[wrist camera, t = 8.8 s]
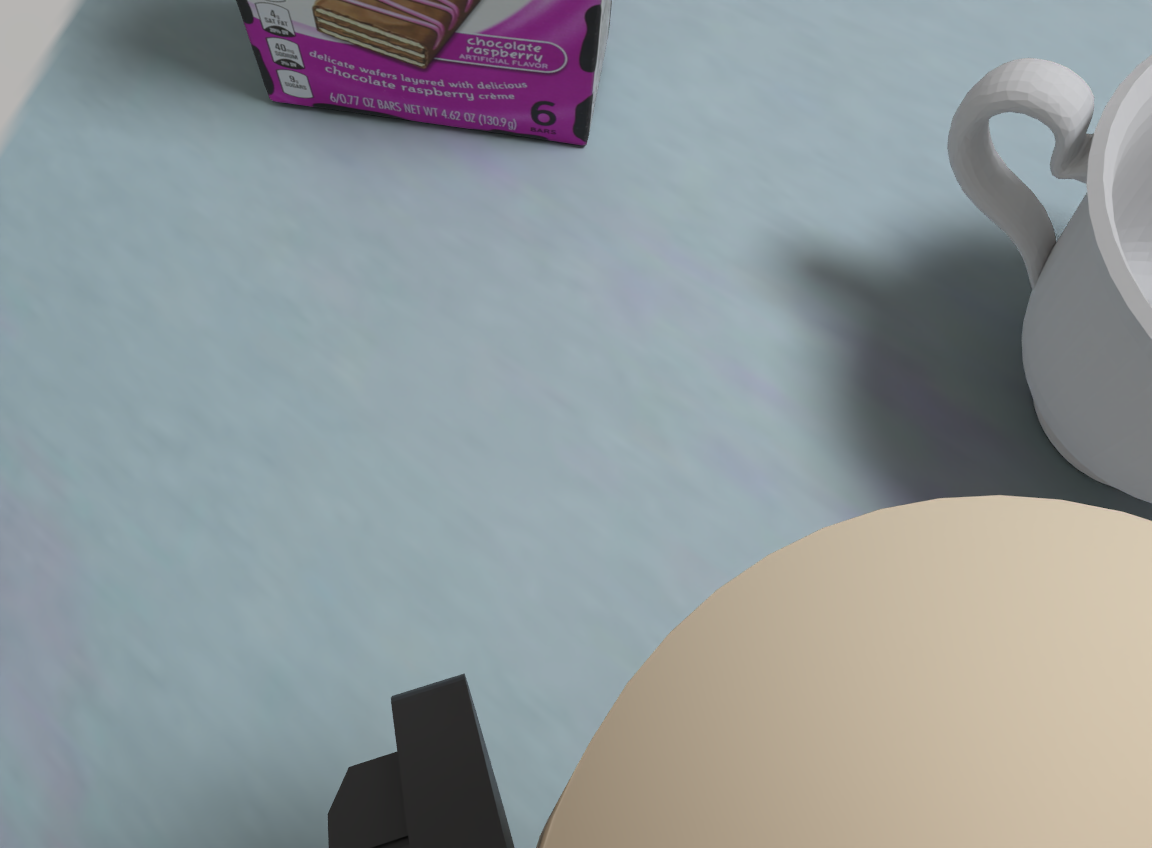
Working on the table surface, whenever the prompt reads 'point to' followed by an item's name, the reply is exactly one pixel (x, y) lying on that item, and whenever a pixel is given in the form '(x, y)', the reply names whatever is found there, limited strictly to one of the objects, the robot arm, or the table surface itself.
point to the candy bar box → (438, 60)
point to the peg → (895, 693)
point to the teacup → (1077, 259)
